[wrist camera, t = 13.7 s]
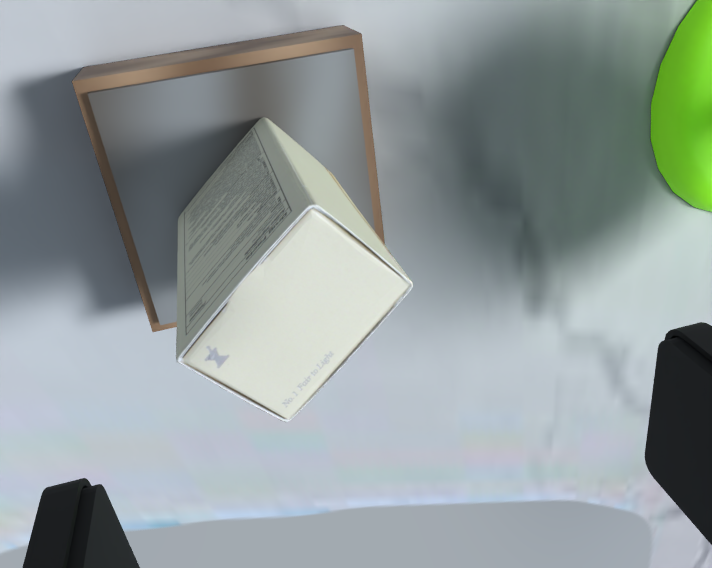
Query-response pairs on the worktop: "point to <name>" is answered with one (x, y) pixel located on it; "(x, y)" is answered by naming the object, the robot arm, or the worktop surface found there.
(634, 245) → the worktop surface
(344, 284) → the skincare box
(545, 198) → the worktop surface
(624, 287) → the worktop surface
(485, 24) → the worktop surface
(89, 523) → the robot arm
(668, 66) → the wineglass
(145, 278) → the plinth
